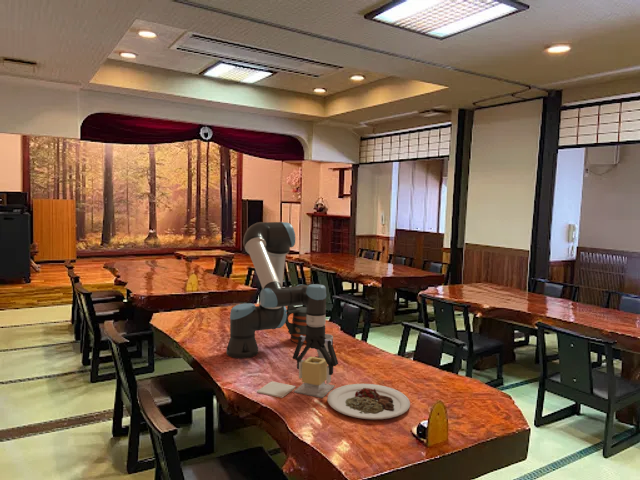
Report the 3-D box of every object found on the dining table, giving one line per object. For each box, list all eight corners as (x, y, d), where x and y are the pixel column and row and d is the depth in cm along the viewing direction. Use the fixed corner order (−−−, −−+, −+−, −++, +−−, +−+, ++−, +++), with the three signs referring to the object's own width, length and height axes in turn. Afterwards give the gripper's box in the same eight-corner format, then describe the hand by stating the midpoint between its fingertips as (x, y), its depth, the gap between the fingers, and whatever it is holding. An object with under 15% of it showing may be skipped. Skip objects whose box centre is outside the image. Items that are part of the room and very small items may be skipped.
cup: (330, 360, 218) (331, 339, 217) (313, 359, 220) (314, 338, 219) (333, 355, 226) (334, 334, 225) (317, 353, 228) (317, 333, 227)
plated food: (350, 430, 153) (350, 420, 152) (314, 394, 180) (314, 386, 180) (426, 415, 165) (427, 405, 164) (382, 384, 192) (382, 376, 192)
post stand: (293, 392, 181) (294, 365, 180) (307, 381, 192) (307, 356, 191) (322, 398, 176) (322, 370, 176) (334, 386, 187) (335, 360, 187)
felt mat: (257, 392, 180) (257, 391, 180) (271, 382, 190) (271, 381, 190) (282, 397, 176) (282, 396, 176) (295, 387, 186) (295, 386, 186)
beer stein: (294, 347, 236) (294, 308, 234) (278, 340, 248) (278, 303, 246) (323, 341, 248) (324, 303, 246) (307, 334, 259) (307, 298, 258)
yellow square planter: (302, 382, 182) (302, 362, 182) (310, 375, 189) (310, 356, 188) (319, 385, 179) (319, 365, 179) (327, 379, 186) (327, 359, 185)
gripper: (284, 323, 184) (283, 377, 185) (340, 331, 174) (339, 388, 176) (293, 319, 190) (292, 371, 192) (347, 326, 181) (346, 381, 183)
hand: (314, 379), depth 184 cm, fingers open, 11 cm apart
